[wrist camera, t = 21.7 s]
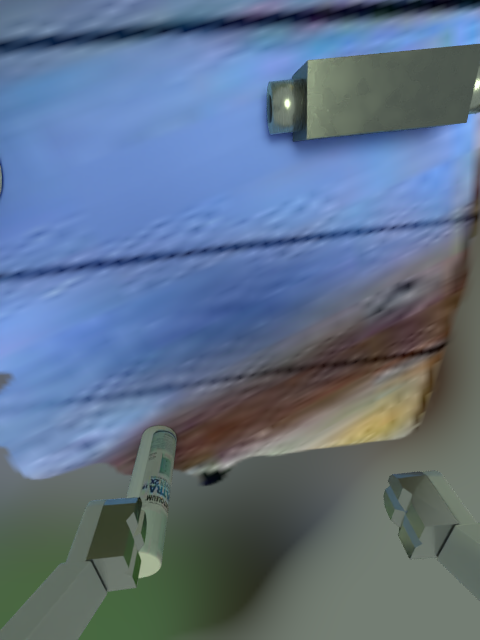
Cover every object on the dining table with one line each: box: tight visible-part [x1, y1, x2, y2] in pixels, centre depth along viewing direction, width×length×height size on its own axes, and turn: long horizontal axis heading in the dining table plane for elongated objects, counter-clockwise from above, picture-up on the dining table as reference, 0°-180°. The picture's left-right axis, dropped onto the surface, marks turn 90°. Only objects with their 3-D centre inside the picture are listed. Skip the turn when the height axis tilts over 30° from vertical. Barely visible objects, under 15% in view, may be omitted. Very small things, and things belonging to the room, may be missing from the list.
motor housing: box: [267, 44, 480, 141], centre depth 31 cm, size 22×6×6 cm, turn 95°
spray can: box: [126, 426, 177, 578], centre depth 47 cm, size 6×6×20 cm
